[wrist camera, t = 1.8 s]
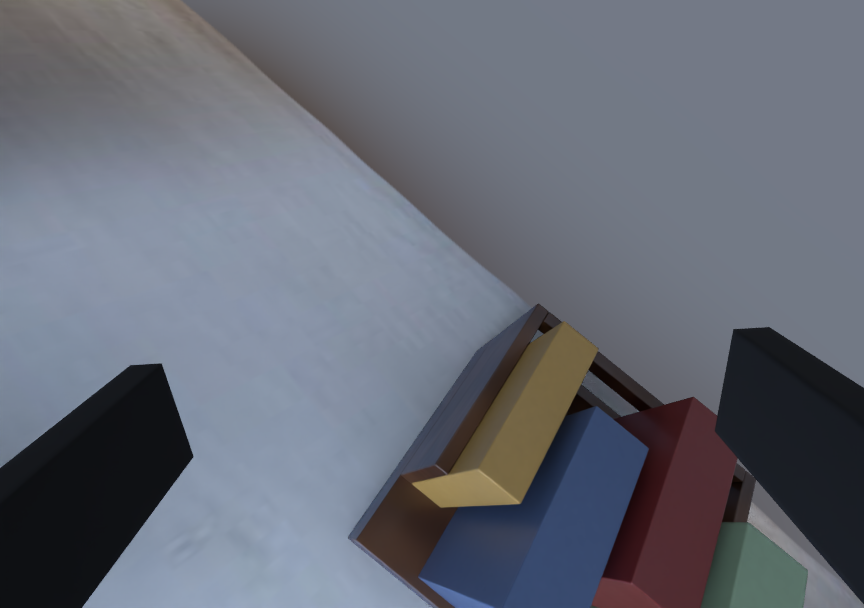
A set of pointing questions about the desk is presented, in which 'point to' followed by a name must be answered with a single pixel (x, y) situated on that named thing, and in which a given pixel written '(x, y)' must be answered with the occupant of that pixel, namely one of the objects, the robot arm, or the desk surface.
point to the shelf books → (653, 494)
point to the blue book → (544, 525)
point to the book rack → (448, 436)
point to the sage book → (752, 572)
